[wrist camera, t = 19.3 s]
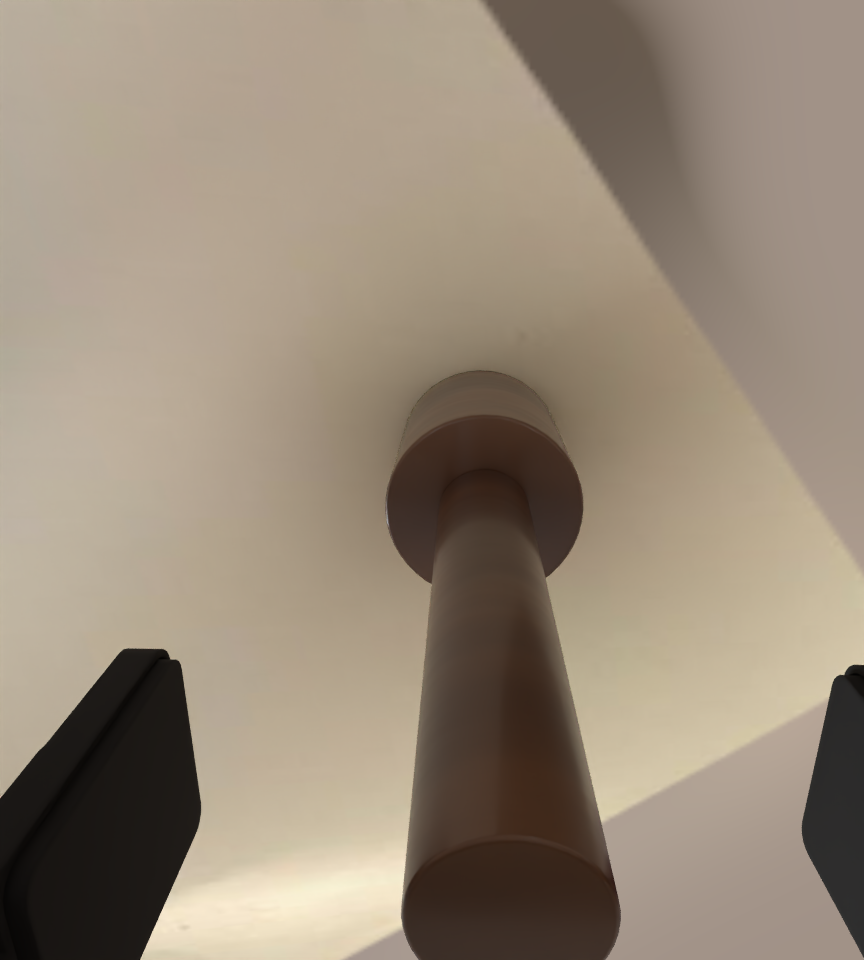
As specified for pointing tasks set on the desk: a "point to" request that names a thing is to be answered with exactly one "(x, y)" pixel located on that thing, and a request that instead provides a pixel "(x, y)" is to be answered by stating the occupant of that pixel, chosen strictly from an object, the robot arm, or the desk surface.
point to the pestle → (496, 687)
